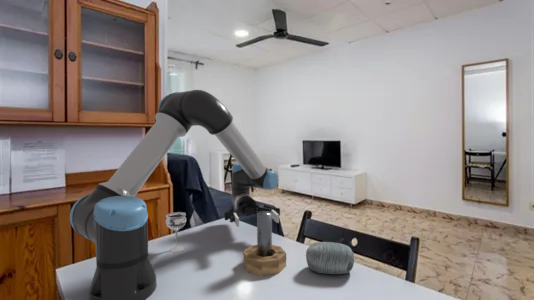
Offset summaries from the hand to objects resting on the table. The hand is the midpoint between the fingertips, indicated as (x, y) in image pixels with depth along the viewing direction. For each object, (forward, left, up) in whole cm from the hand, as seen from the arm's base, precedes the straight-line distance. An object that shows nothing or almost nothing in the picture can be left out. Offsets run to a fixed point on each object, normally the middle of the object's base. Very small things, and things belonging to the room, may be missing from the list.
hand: (258, 220), depth 94 cm
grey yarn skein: (+17, -17, -11) cm, 27 cm away
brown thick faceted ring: (0, -8, -11) cm, 14 cm away
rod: (0, -8, -11) cm, 14 cm away
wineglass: (-26, +12, -11) cm, 31 cm away
